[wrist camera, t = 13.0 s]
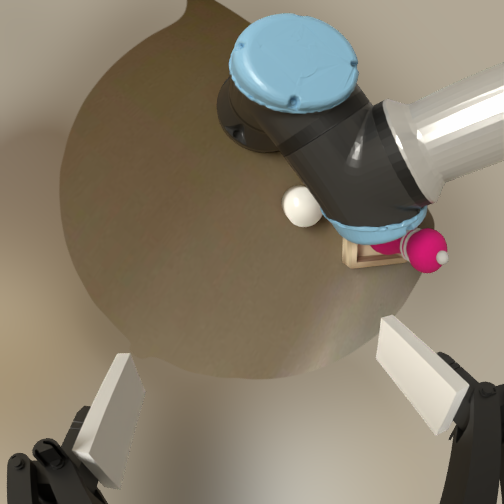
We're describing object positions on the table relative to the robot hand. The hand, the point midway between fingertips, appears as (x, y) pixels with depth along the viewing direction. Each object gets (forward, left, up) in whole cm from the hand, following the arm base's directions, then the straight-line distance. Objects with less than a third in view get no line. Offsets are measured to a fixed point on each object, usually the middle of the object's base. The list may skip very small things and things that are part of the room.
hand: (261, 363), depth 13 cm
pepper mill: (+1, +25, -34) cm, 42 cm away
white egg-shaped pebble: (-4, +11, -34) cm, 36 cm away
